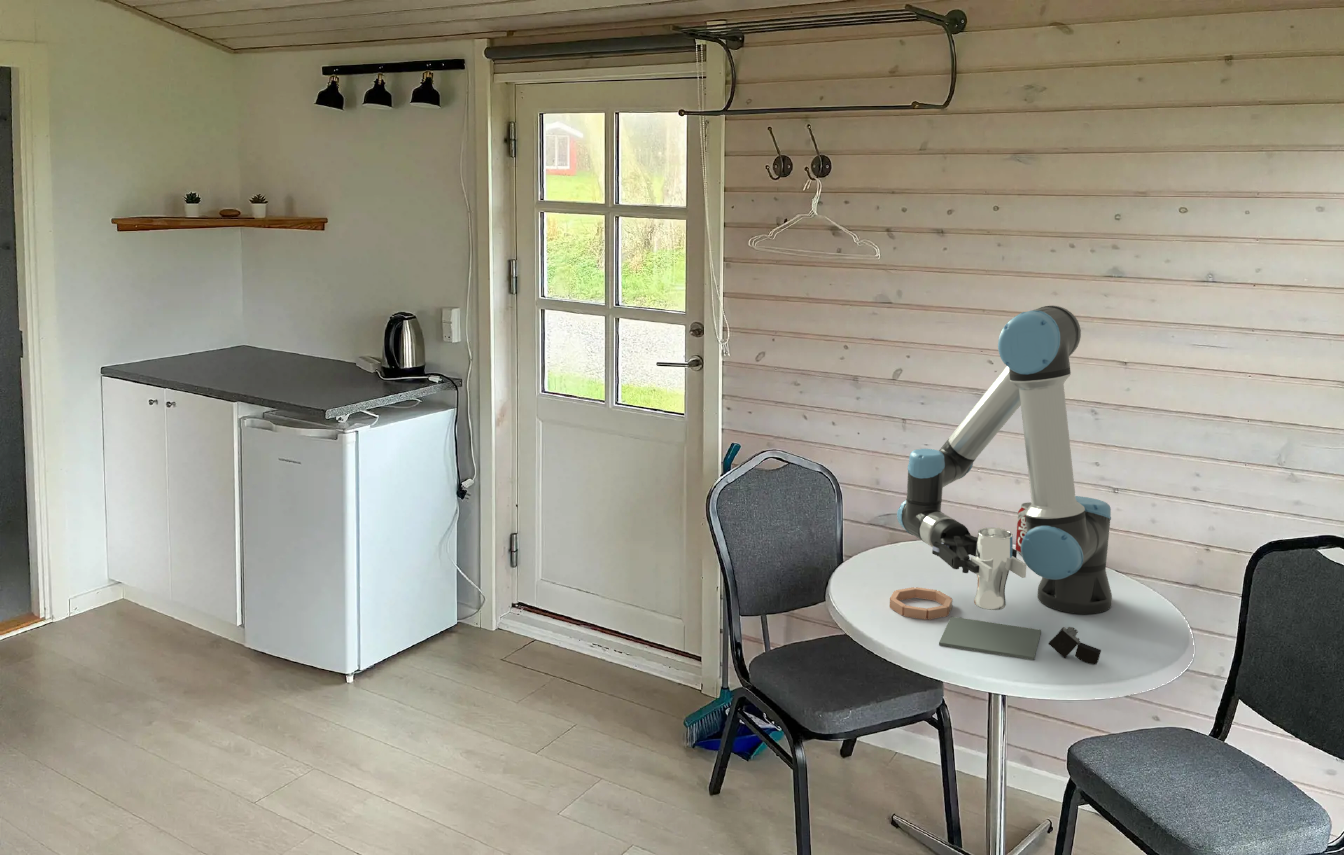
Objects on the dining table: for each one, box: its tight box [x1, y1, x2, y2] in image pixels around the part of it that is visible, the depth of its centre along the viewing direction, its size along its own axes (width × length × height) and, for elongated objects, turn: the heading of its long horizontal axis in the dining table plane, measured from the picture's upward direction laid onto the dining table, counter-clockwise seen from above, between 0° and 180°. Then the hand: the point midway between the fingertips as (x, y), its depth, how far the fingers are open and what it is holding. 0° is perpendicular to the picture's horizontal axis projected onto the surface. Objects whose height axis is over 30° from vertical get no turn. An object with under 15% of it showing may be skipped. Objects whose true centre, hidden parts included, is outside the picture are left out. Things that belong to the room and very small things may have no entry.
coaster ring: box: [889, 586, 953, 621], centre depth 245 cm, size 12×12×2 cm
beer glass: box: [973, 527, 1014, 611], centre depth 226 cm, size 7×7×15 cm
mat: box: [938, 616, 1042, 661], centre depth 229 cm, size 18×14×1 cm
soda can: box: [1015, 501, 1032, 555], centre depth 276 cm, size 7×7×12 cm
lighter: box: [1047, 626, 1102, 665], centre depth 220 cm, size 9×2×6 cm
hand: (1007, 573), depth 221 cm, fingers closed on beer glass, 7 cm apart
